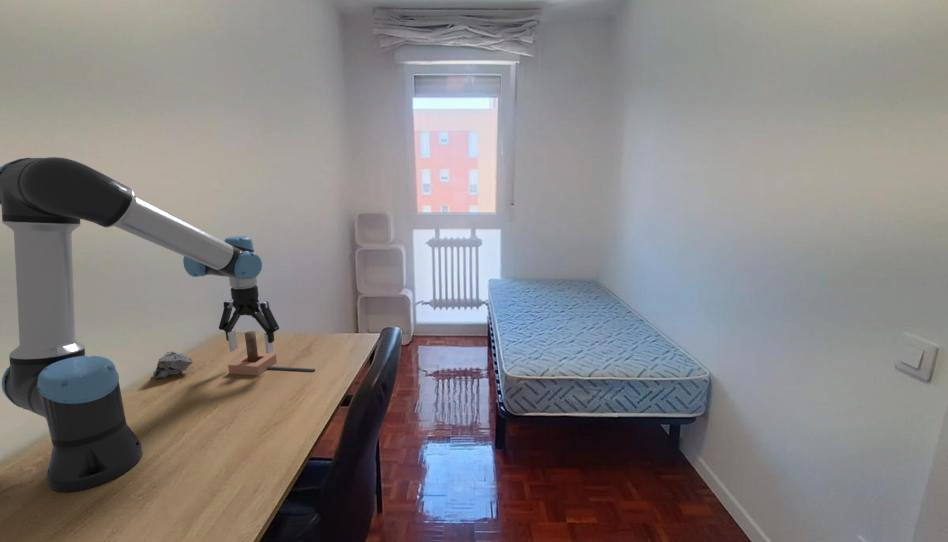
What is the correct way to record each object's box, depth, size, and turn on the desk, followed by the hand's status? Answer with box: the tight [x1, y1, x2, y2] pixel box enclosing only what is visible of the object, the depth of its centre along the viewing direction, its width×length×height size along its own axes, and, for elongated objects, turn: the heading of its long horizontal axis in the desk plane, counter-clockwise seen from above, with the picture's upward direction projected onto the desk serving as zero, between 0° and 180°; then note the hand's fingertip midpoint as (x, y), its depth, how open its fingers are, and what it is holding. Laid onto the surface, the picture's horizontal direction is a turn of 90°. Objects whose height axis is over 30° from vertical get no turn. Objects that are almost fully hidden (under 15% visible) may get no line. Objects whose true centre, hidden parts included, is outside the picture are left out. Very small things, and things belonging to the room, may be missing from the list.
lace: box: [267, 365, 316, 373], centre depth 138 cm, size 1×16×1 cm, turn 83°
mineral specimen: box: [152, 351, 194, 379], centre depth 134 cm, size 10×8×10 cm
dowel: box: [244, 330, 259, 363], centre depth 138 cm, size 3×3×12 cm
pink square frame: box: [227, 352, 278, 376], centre depth 139 cm, size 10×10×3 cm
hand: (251, 351), depth 138 cm, fingers open, 12 cm apart
